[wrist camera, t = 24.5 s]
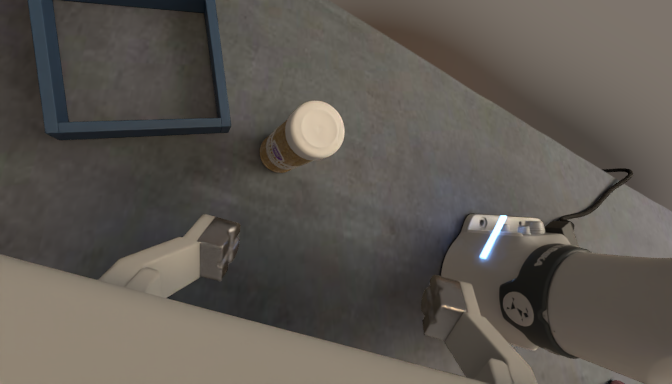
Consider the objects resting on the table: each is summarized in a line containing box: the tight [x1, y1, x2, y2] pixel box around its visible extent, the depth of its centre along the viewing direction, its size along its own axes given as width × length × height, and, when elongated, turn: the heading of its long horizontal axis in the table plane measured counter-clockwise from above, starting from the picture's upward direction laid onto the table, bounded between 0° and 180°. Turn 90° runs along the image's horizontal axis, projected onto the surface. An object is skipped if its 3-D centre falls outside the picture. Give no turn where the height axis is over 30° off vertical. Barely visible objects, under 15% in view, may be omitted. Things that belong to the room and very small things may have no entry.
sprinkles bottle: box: [260, 101, 344, 173], centre depth 32 cm, size 5×5×14 cm
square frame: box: [28, 0, 231, 140], centre depth 31 cm, size 15×14×3 cm
